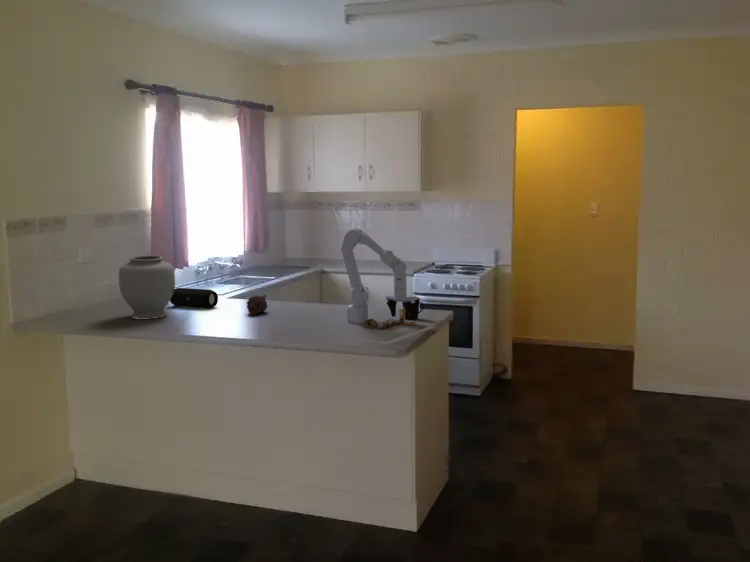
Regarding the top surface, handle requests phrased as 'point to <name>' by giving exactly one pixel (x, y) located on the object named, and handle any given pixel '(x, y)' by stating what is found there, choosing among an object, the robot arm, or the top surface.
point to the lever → (388, 324)
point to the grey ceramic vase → (147, 285)
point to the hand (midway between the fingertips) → (400, 317)
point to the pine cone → (257, 304)
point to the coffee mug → (414, 309)
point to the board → (392, 328)
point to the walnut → (373, 323)
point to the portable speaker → (194, 298)
